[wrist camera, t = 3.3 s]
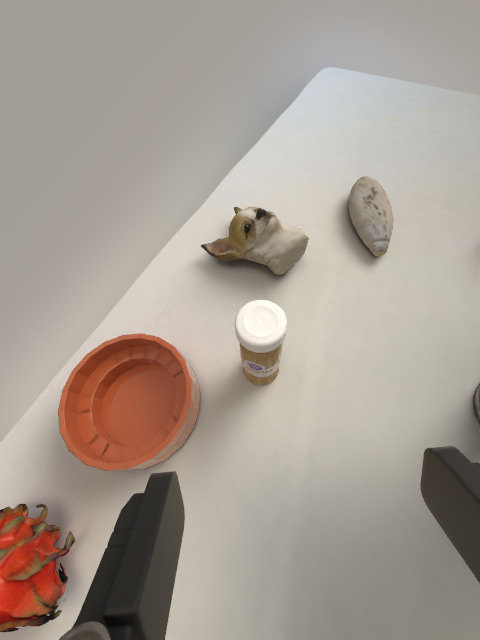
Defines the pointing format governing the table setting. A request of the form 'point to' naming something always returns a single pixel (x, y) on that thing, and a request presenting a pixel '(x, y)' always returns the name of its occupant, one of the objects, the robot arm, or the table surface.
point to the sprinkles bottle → (260, 339)
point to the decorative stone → (371, 214)
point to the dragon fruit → (29, 568)
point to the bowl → (129, 404)
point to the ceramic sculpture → (260, 240)
